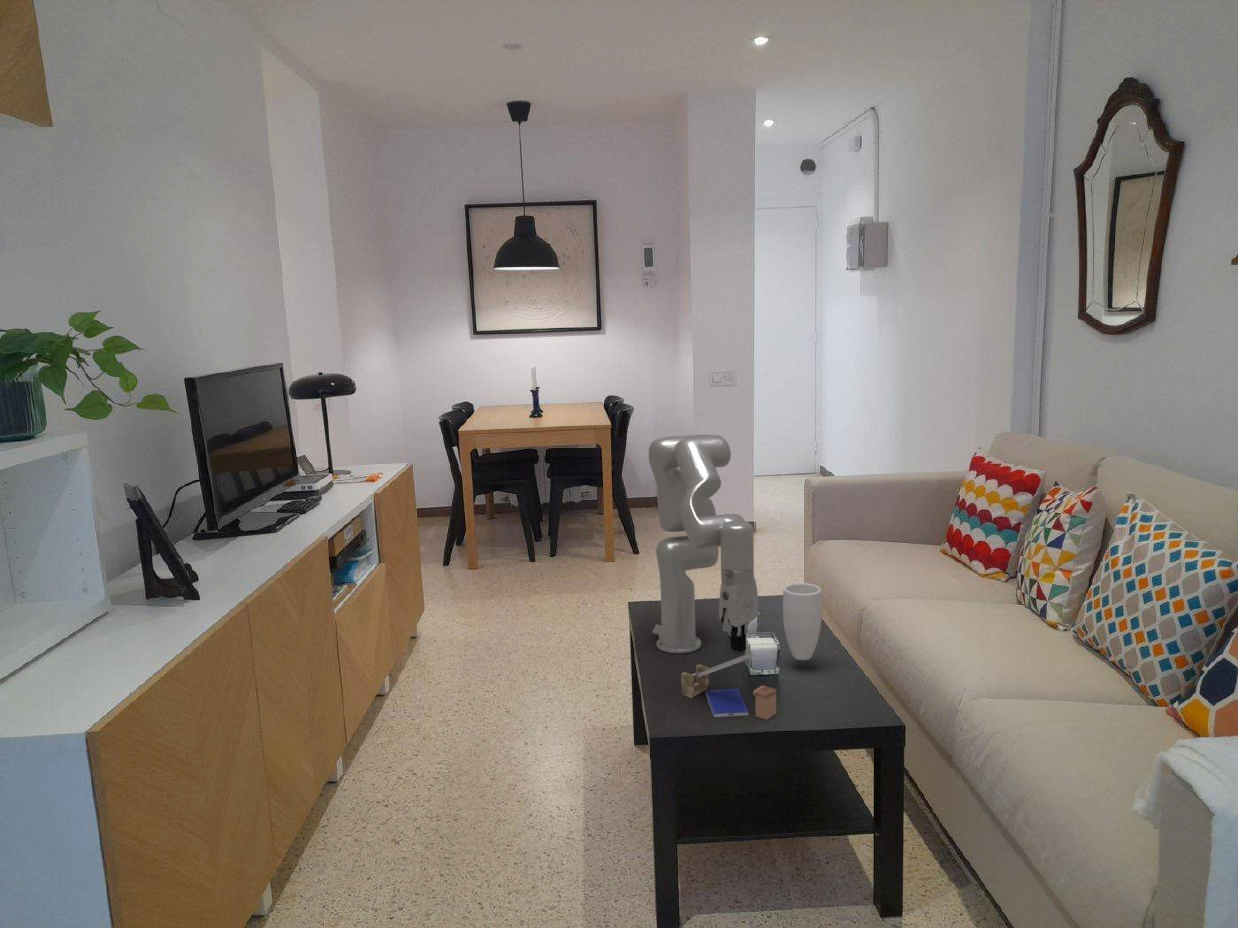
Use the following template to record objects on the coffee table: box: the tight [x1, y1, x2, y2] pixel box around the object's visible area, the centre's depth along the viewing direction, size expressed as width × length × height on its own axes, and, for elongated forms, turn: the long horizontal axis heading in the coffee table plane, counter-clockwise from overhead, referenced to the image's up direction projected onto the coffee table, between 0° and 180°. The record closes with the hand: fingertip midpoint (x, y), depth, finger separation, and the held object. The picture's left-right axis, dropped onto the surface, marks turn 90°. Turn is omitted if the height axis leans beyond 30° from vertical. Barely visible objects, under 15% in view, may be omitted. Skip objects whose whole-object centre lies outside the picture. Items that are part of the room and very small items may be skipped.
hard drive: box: [705, 688, 750, 718], centre depth 199 cm, size 2×8×12 cm
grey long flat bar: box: [692, 652, 754, 681], centre depth 200 cm, size 19×4×1 cm, turn 48°
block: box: [752, 685, 777, 721], centre depth 193 cm, size 4×4×6 cm
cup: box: [782, 582, 823, 661], centre depth 217 cm, size 10×10×22 cm
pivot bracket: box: [680, 663, 710, 699], centre depth 206 cm, size 3×7×6 cm, turn 137°
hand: (738, 649), depth 196 cm, fingers closed
